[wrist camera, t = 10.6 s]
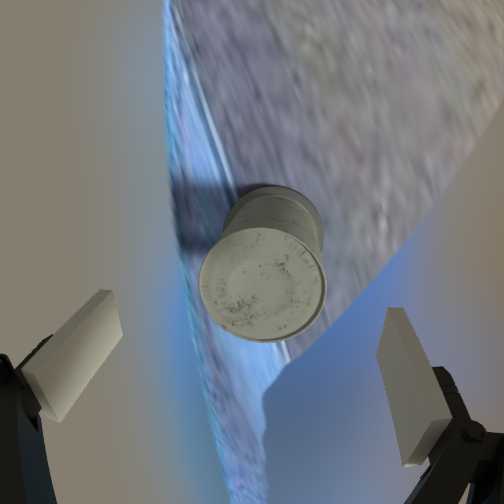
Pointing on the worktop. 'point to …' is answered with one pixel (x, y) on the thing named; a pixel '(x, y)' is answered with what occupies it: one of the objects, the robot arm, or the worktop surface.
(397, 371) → the robot arm
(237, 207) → the pad
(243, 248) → the grey marble cylinder
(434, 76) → the worktop surface
